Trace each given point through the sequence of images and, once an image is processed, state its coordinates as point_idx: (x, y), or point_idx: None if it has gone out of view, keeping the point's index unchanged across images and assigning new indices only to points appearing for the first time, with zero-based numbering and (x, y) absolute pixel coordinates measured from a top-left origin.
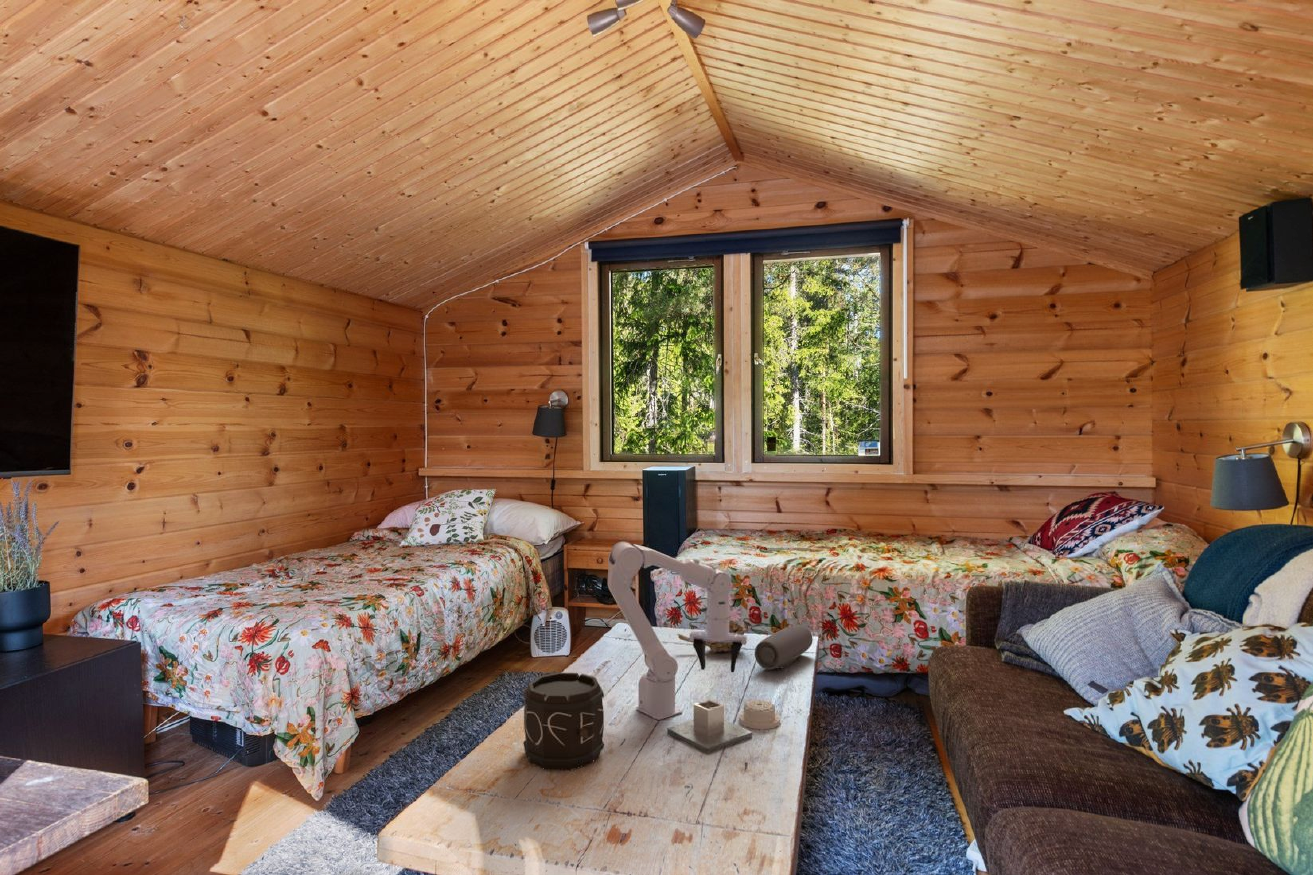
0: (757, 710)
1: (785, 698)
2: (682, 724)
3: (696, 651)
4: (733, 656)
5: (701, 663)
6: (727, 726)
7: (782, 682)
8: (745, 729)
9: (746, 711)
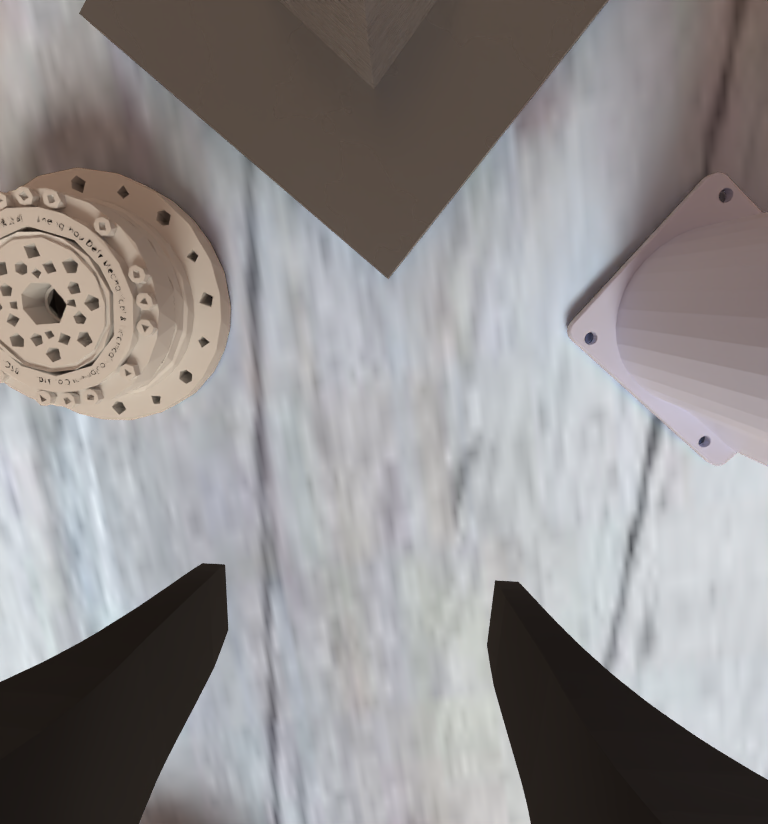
0: (34, 195)
1: (62, 627)
2: (554, 39)
3: (692, 737)
4: (73, 669)
5: (538, 613)
6: (252, 77)
7: None
8: (131, 53)
9: (136, 235)
